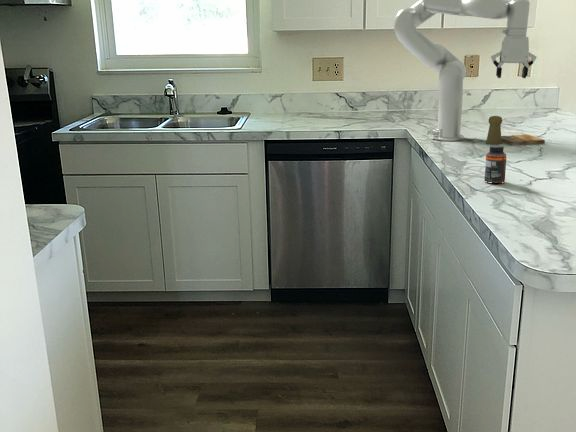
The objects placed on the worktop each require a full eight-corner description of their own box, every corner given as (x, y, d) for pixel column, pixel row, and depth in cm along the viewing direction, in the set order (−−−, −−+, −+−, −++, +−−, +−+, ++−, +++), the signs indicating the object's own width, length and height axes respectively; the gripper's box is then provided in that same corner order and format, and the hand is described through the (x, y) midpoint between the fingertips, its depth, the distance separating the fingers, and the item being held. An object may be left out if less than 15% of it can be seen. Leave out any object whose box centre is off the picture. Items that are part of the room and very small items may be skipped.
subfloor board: (510, 145, 247) (510, 141, 246) (496, 139, 259) (496, 135, 259) (544, 143, 248) (544, 139, 248) (528, 138, 260) (529, 134, 260)
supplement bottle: (500, 179, 194) (503, 143, 191) (507, 184, 189) (510, 147, 185) (481, 180, 194) (483, 144, 191) (487, 185, 188) (490, 147, 185)
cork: (491, 145, 248) (493, 117, 245) (482, 142, 253) (484, 115, 250) (504, 144, 249) (506, 116, 246) (496, 141, 255) (498, 114, 252)
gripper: (495, 33, 240) (491, 78, 245) (542, 33, 239) (536, 79, 244) (491, 32, 247) (486, 76, 252) (535, 32, 246) (530, 77, 251)
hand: (511, 77), depth 248 cm, fingers open, 9 cm apart
